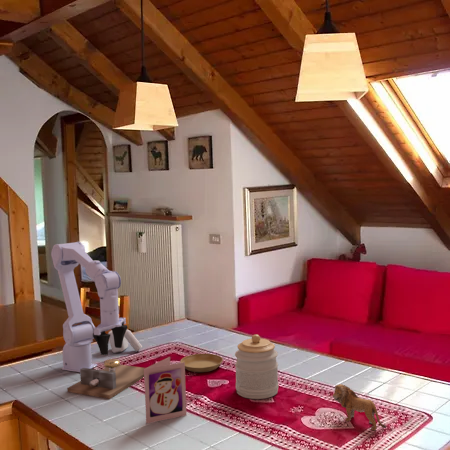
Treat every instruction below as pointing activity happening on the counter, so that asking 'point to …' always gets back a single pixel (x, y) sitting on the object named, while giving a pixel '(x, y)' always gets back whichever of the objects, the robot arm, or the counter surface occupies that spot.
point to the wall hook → (125, 342)
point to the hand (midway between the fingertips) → (111, 351)
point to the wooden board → (107, 381)
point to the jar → (256, 368)
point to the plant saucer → (202, 362)
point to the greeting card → (165, 391)
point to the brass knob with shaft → (109, 364)
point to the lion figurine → (356, 404)
